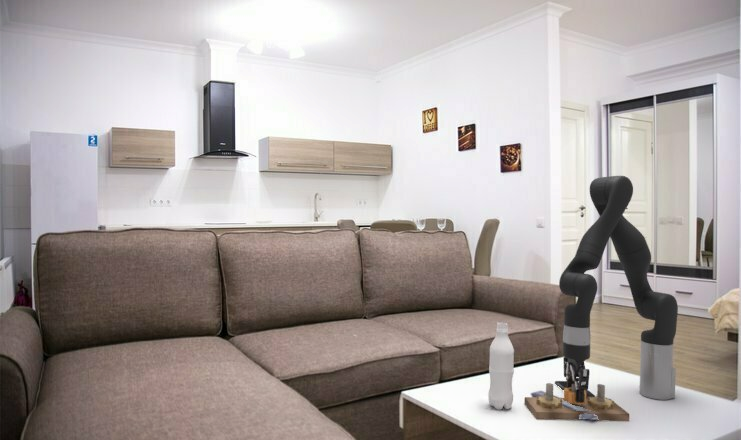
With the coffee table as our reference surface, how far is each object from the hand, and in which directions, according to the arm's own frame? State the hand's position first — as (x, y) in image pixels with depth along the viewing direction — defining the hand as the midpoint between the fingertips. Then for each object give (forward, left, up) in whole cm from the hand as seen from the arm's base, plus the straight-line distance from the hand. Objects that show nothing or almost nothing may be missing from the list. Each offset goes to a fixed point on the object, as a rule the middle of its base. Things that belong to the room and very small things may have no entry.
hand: (575, 397), depth 155 cm
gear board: (0, 0, -4) cm, 4 cm away
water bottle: (+21, -3, -4) cm, 22 cm away
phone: (-7, -19, -5) cm, 21 cm away
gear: (0, 0, -1) cm, 1 cm away
